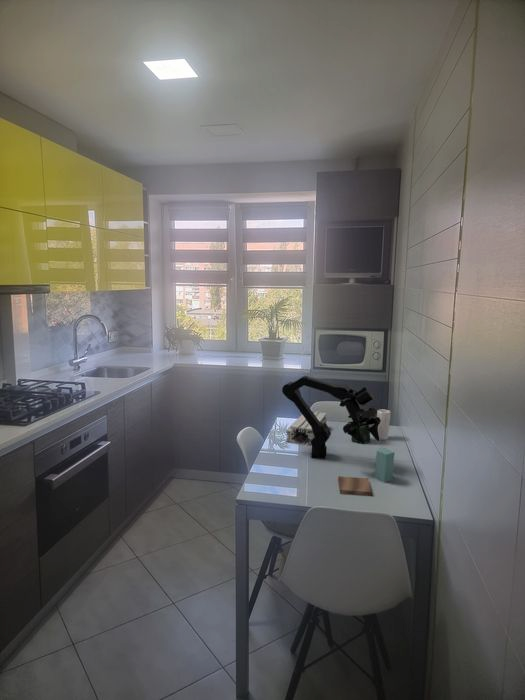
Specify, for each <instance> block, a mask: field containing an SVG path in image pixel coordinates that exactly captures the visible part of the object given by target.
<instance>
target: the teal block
mask: <svg viewBox="0 0 525 700" xmlns="http://www.w3.org/2000/svg"><path fill="white" fill-rule="evenodd" d="M375 454H376V455H375V456H376V457H375V470H374V471H375V474H374V478H375V479H376V480H378V481H380V482H382V483H387V482H390V481H393V476H394V464H395V451H392V450H390V449H388V448H382V449H381V448H380V449H378V450H376V453H375Z"/></svg>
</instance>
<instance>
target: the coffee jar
mask: <svg viewBox="0 0 525 700" xmlns="http://www.w3.org/2000/svg"><path fill="white" fill-rule="evenodd" d="M359 406H360V408H361V409H364V410H365V411H368V410H369V408H371V406H365V405H359ZM368 420H369V419H368ZM368 420H367V421H368ZM368 429H369V428H368V427H367V426H363V427H360V434H361V436H362V438H363V440H364V443H365V444H368V443H370V442H371V433H370V432H369V430H368ZM350 437H351V439H350V440H351V442H354V443H357V442H358V443H359V444H361V443H360V442H359V441H357V440H356V439H355V438H353V437H352V436H351V435H350Z"/></svg>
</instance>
